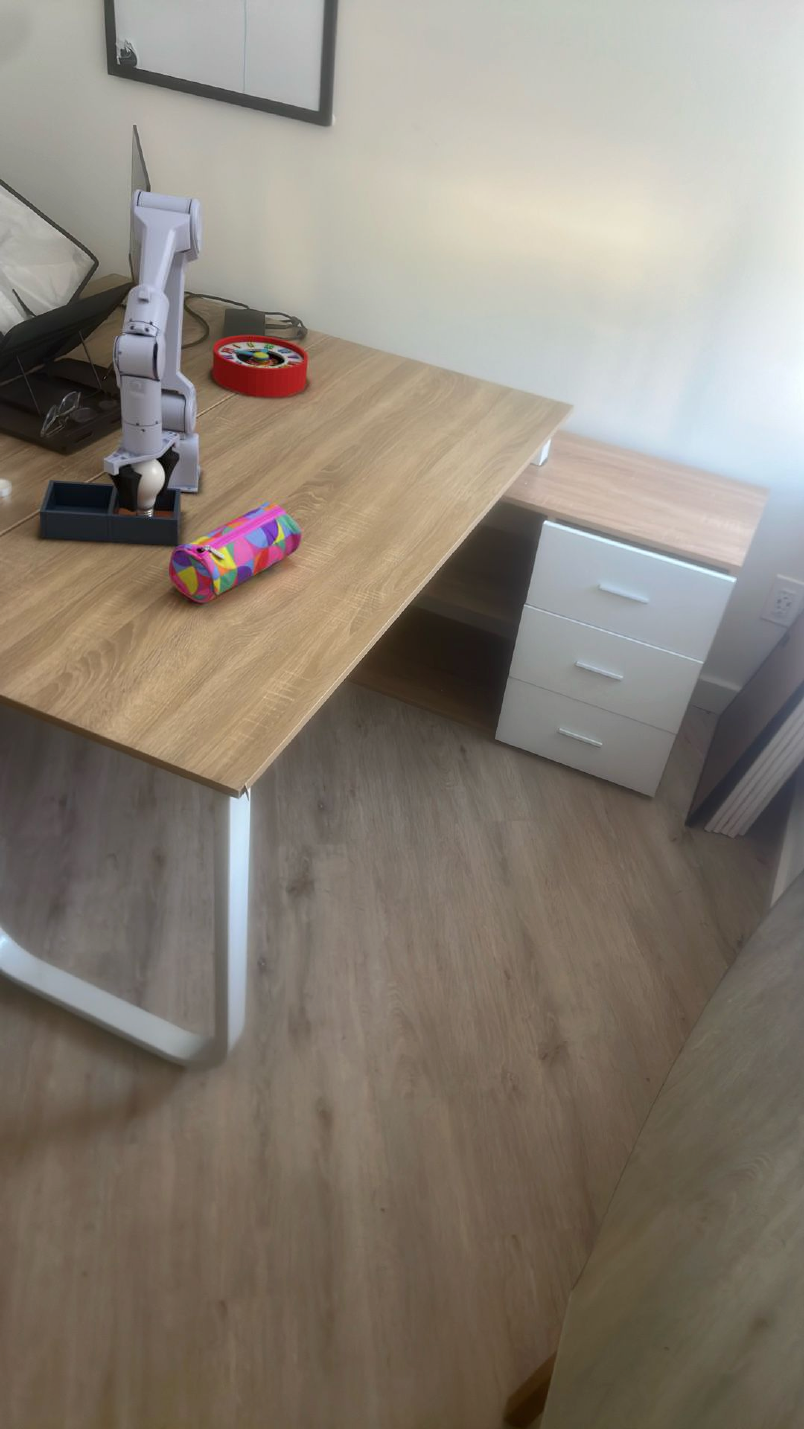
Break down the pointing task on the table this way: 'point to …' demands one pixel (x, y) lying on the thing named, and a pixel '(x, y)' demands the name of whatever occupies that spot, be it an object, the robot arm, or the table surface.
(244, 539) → the pencil case
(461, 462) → the table surface
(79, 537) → the organiser
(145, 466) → the lightbulb
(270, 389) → the toy clock
